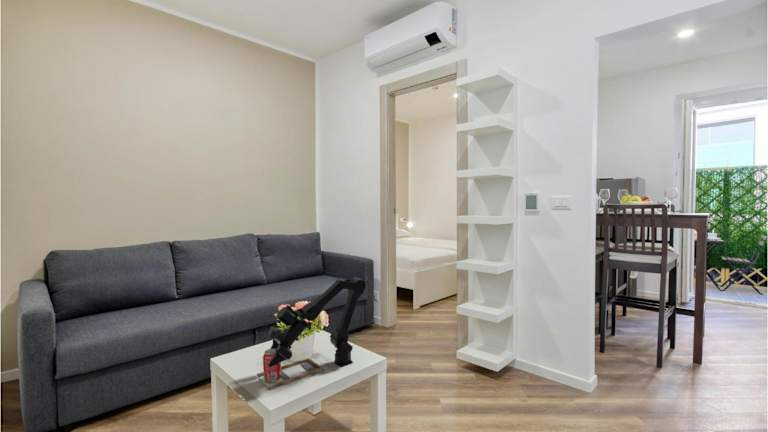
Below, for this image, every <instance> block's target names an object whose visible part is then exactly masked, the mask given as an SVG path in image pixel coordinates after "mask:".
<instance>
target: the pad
mask: <svg viewBox="0 0 768 432" xmlns="http://www.w3.org/2000/svg"><path fill="white" fill-rule="evenodd" d="M258 379H259V380H260V381H261V382H262V383H263V385H265V386H266V388H269V385H272V384H275V383H278V382H281V381H284V380H283V379H281V378H280V379H279V380H278V381H276V382H267V381H265V380H264V376H261V377H258Z"/></svg>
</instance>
